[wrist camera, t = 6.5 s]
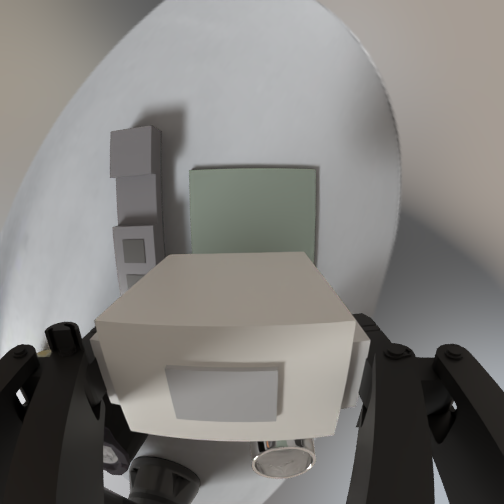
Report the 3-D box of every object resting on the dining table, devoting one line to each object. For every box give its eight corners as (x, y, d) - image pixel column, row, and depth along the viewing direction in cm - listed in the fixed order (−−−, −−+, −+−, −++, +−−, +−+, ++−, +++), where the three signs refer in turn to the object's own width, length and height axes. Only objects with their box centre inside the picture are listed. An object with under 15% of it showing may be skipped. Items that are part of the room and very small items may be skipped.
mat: (310, 303, 34) (311, 305, 34) (196, 304, 34) (195, 306, 34) (314, 169, 31) (315, 169, 30) (190, 170, 31) (189, 170, 30)
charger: (301, 329, 16) (335, 439, 8) (178, 330, 16) (129, 434, 8) (303, 251, 15) (358, 324, 7) (169, 254, 15) (91, 323, 7)
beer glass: (301, 359, 36) (321, 442, 22) (299, 396, 38) (314, 476, 23) (249, 362, 36) (247, 447, 22) (251, 399, 38) (251, 481, 23)
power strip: (170, 310, 35) (161, 325, 31) (135, 308, 35) (123, 322, 31) (161, 131, 30) (149, 124, 26) (123, 136, 30) (108, 130, 26)
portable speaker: (142, 315, 35) (70, 409, 16) (188, 362, 36) (152, 473, 18) (108, 344, 36) (40, 429, 17) (151, 386, 38) (108, 483, 19)
